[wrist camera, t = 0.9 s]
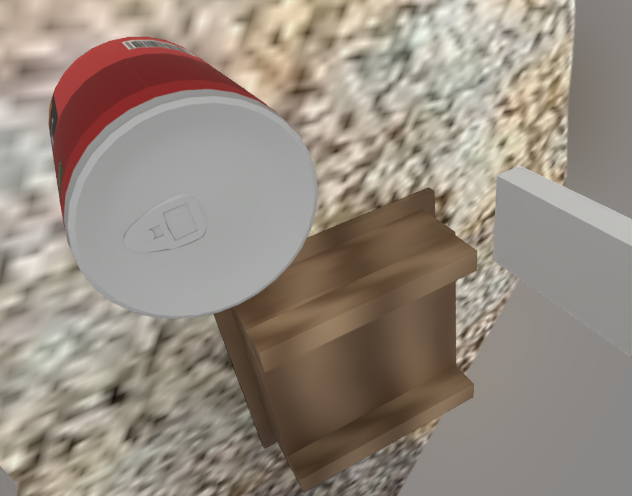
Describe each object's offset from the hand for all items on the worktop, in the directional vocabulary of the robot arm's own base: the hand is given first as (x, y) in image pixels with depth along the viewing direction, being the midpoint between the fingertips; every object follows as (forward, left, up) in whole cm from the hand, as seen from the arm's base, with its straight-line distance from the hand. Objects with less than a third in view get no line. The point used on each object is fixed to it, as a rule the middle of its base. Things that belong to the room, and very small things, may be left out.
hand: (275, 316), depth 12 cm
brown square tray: (+8, -18, -16) cm, 25 cm away
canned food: (0, 0, -17) cm, 17 cm away
